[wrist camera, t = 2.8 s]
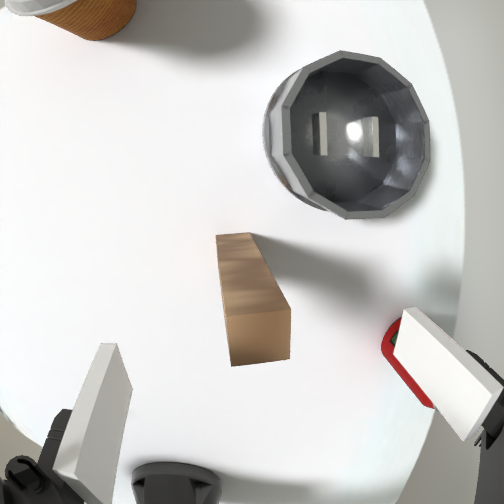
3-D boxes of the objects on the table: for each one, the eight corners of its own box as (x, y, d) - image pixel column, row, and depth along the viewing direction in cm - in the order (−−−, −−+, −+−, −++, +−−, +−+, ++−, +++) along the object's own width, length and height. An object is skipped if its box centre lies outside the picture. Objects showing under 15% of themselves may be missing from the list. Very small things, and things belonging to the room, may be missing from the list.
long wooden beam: (218, 267, 28) (231, 366, 14) (215, 235, 27) (226, 316, 13) (251, 264, 28) (289, 359, 15) (249, 232, 27) (290, 309, 14)
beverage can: (425, 306, 33) (485, 357, 22) (414, 349, 35) (464, 403, 24) (382, 316, 32) (442, 377, 21) (373, 360, 35) (420, 424, 23)
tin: (265, 214, 27) (279, 229, 22) (259, 59, 22) (271, 39, 17) (398, 208, 28) (430, 220, 23) (395, 75, 24) (427, 66, 19)
